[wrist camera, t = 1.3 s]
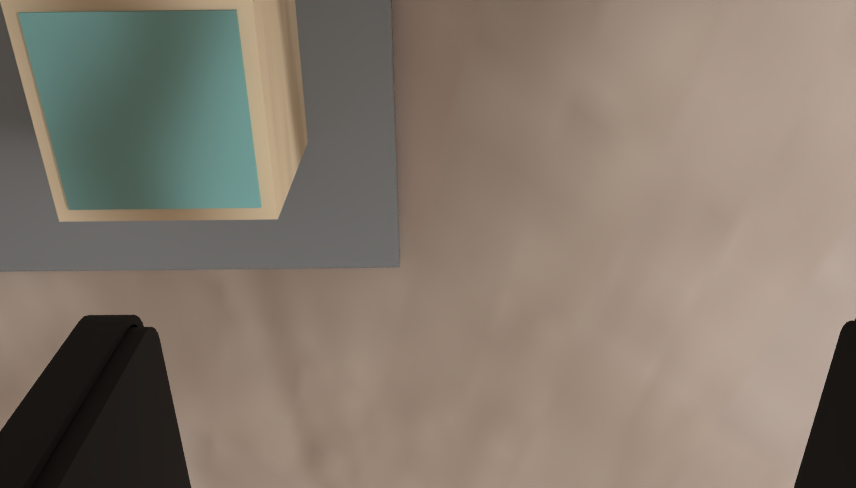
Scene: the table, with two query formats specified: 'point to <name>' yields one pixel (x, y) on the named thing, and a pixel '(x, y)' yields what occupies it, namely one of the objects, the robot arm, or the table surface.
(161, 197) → the cube
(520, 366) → the table surface
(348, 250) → the mat
